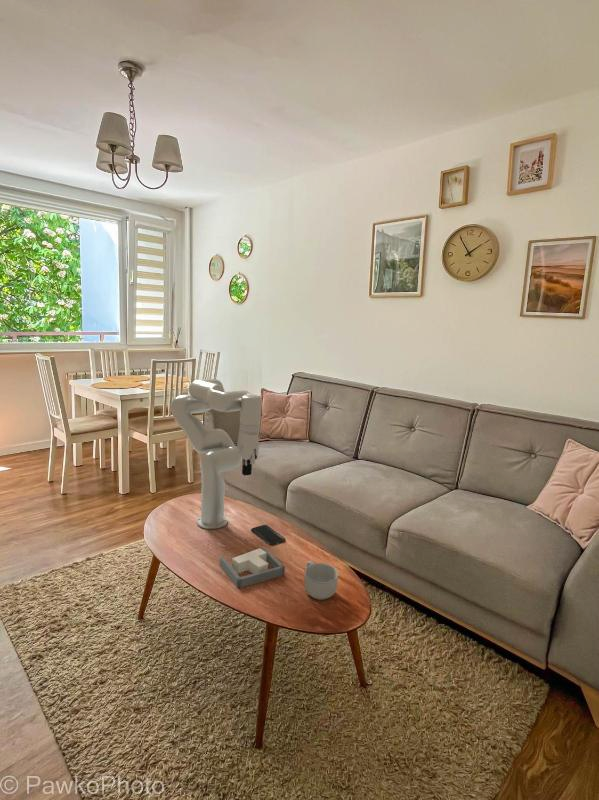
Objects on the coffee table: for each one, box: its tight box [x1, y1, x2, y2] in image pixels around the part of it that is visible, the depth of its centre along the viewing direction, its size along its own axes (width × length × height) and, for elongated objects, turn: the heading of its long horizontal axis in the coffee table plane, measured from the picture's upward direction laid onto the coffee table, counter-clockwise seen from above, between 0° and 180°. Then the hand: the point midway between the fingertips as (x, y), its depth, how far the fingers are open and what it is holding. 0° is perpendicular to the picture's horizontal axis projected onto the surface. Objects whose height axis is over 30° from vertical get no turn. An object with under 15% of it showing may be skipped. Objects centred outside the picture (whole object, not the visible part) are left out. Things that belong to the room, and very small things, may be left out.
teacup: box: [304, 560, 339, 601], centre depth 144 cm, size 14×11×8 cm
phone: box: [250, 524, 286, 546], centre depth 179 cm, size 8×1×15 cm
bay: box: [219, 546, 286, 589], centre depth 154 cm, size 15×17×3 cm
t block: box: [231, 547, 269, 575], centre depth 154 cm, size 10×12×4 cm
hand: (246, 474), depth 168 cm, fingers closed
